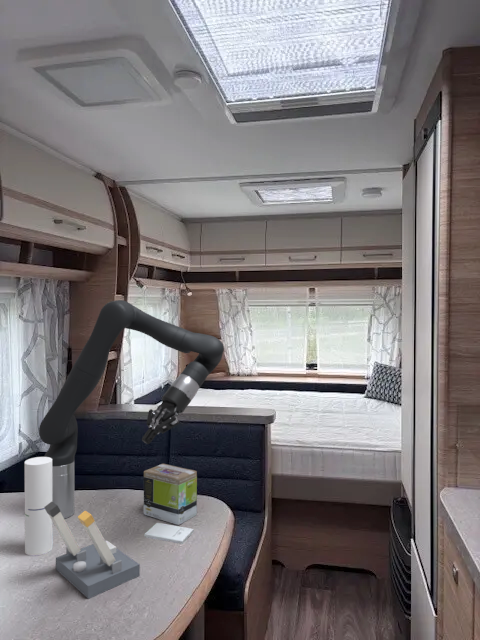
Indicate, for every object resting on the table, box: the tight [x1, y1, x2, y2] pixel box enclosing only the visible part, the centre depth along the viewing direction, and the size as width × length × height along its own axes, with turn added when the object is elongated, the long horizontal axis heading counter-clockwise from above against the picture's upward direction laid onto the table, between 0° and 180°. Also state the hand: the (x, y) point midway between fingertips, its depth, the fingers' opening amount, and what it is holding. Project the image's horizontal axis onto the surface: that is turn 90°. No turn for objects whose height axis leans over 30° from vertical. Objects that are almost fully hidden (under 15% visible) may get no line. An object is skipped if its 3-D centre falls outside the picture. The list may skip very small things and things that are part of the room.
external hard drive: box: [144, 522, 195, 545], centre depth 146 cm, size 2×8×12 cm
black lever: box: [44, 502, 81, 556], centre depth 124 cm, size 4×2×16 cm, turn 45°
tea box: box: [143, 463, 198, 526], centre depth 159 cm, size 15×10×15 cm
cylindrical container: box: [24, 456, 54, 557], centre depth 136 cm, size 7×7×25 cm
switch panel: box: [55, 539, 141, 600], centre depth 125 cm, size 18×14×5 cm
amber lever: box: [77, 510, 115, 567], centre depth 119 cm, size 4×2×16 cm, turn 44°
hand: (144, 442), depth 136 cm, fingers closed
